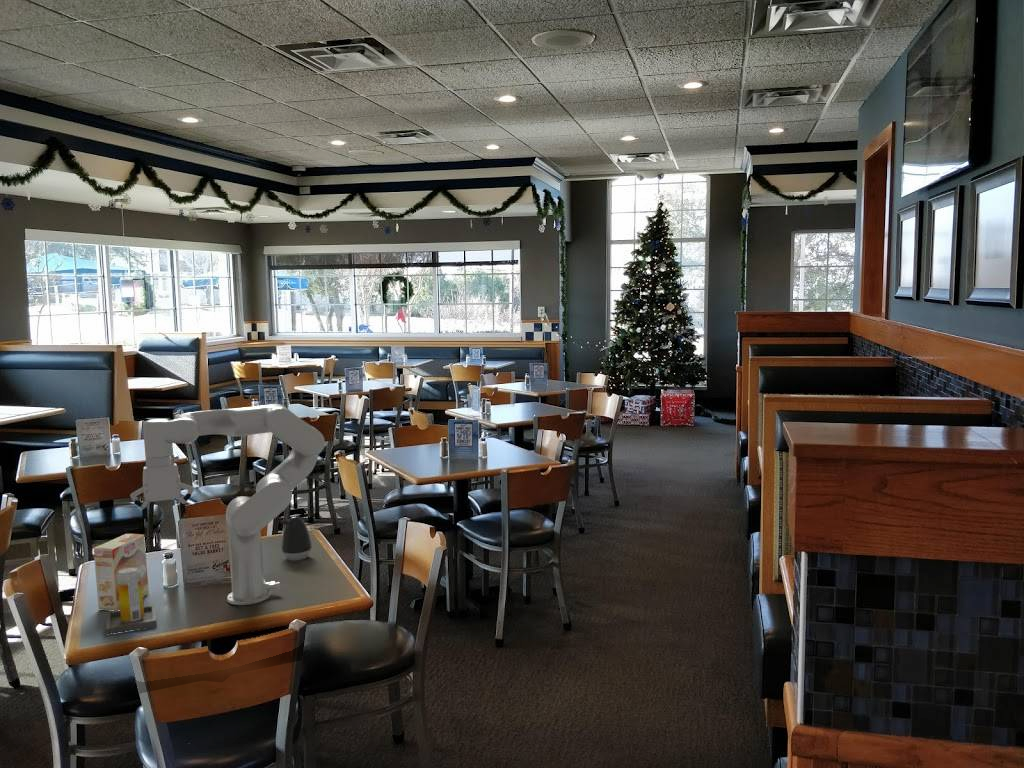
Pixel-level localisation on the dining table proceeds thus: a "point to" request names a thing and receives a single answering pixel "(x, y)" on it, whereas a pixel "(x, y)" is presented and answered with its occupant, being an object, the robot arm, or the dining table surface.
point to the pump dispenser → (295, 539)
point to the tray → (117, 625)
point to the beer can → (130, 595)
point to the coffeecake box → (118, 567)
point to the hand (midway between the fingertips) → (164, 518)
